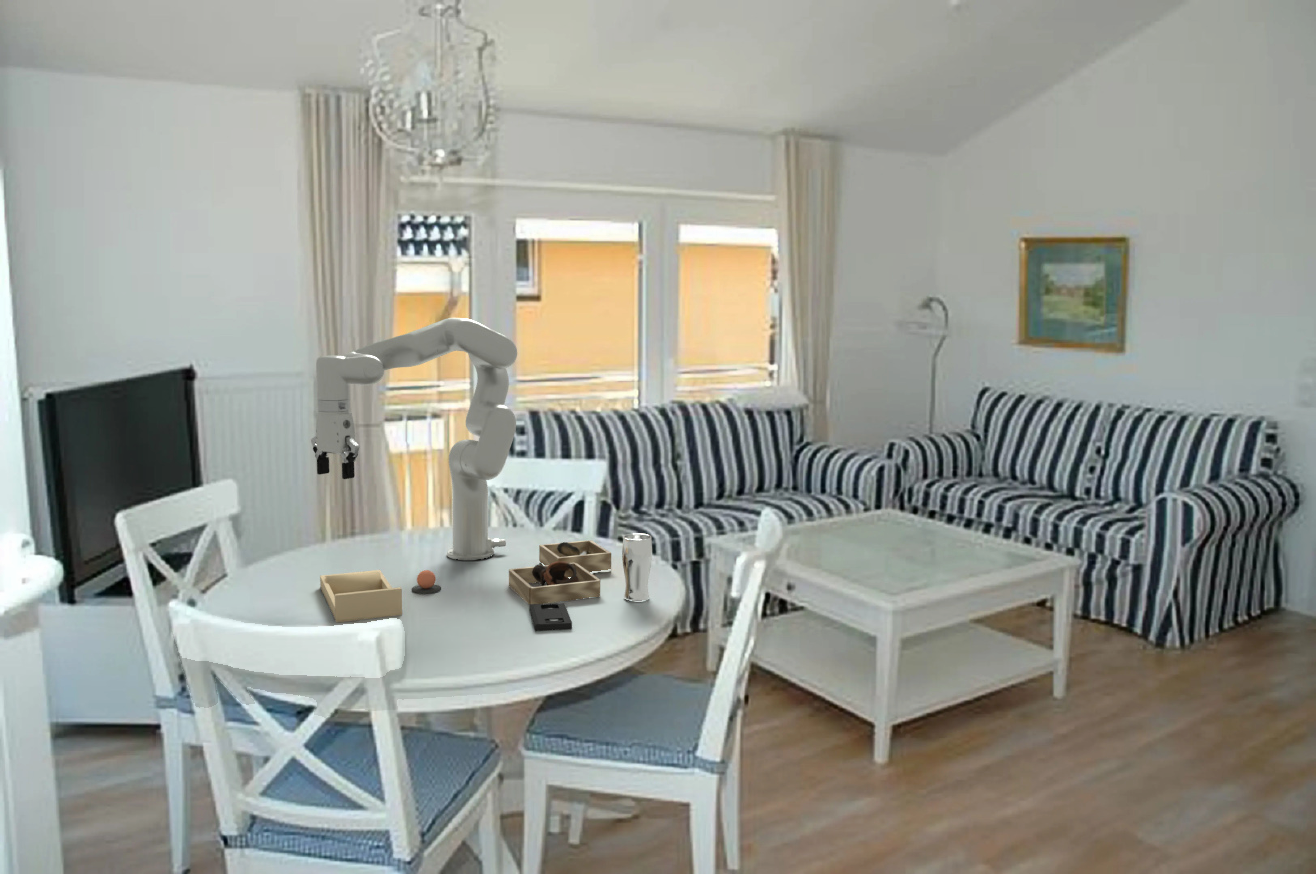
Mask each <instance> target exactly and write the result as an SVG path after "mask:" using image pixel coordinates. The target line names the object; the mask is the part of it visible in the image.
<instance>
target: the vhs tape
mask: <svg viewBox="0 0 1316 874" xmlns="http://www.w3.org/2000/svg"><path fill="white" fill-rule="evenodd" d="M528 605H529V606H528V607H529V608H528V609H529V614H530V618H531V620H532V621H531V622H532V625H533V629H534V632H550V631H552V632H553V631H565V630H566V631H568V630H573V627H572V626H573V621H572V619H571V616H570V614H569V611H568V609H567V606H566V604H565V602H555V603H547V604H528Z"/></svg>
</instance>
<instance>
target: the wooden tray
mask: <svg viewBox="0 0 1316 874" xmlns="http://www.w3.org/2000/svg"><path fill="white" fill-rule="evenodd" d="M560 543H561V542H559V543H546V544H539V549H538V551H539V552H538V553H539V554H538V555H539V556H538V557H539V559H538V560H539V561H540V562H541V563H543V564H544V565H550V564H551V563H553V562H557V561H559V562H560V561H563V562H567V563H577V564H579V565H580V566H581V567H583V568H584V569H586V570H587V571H589V572H592V571H601V570H608V569H611V570H612V552H611V551H609V550H608V549H606V548H604V547H602V546H601V545H599V544H598V543H596V542H595V541H593V540H590V539H589V540H579V541H578V540H577V541H568V544H570V545H572V546H573V547H577V548H578V549H579V550H580V554H581V553H582V552H583V551H585V552H587V551H589V550H590V549H591V553H590V554H587V555H577V556H565V555H563V554H561V553H559V551H558V549H557V547H558V545H559V544H560Z"/></svg>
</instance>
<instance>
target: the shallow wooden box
mask: <svg viewBox="0 0 1316 874" xmlns="http://www.w3.org/2000/svg"><path fill="white" fill-rule="evenodd" d="M570 564H571V565H573V566H574V567H575V569H576V572H577V577H578V579H579V582H575V583H566V584H557V585H548V586H547V585H544V586H541V585H539V586H532V585H531V584H529V583H532V584H536V583H535V582H538V581H537V580H536V579H535V578H534V576H533V574H532V570H533V568H534V566H527V567H517V568H516V567H515V568H510V569H508V587H509V586H510V588H511V589H512V590H513V591H514V592H515V594H517V595H518V596H519V597H520V598H521V599H522V600H523V601H524V602H526V603H527V604H528V605H529V604H555V603H561V602H560V601H564V602H570V601H571V600H572V601H577V600H576V599H581V600H584V599H583V598H589V597H598V598H600V597H601V579H600V578H598V577H597V576H596V575H594V574H591V573H590V572H589V571H587V570H586V569H584V568H583V567H581V566H580V565H579V564H577V563H570ZM545 567H548V565H545ZM564 576H566V577H567V578H568V577H572V576H573V571H572V570H571V569H569V570H567V571H566V572H565V574H564ZM599 596H600V597H599ZM589 599H590V598H589ZM572 601H571V602H572ZM554 602H555V603H554Z"/></svg>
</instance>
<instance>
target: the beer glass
mask: <svg viewBox="0 0 1316 874" xmlns="http://www.w3.org/2000/svg"><path fill="white" fill-rule="evenodd" d="M622 539H623V541H622V551H621V552H622V554H621V555H622V556H621V557H622V558H621V559H622V567H623V574H624V580H625V588H624V593H623V599H624V598H626V599H628V600H632V601H642V600H647V599H648V598H649V599H650V594H649V586H648V585H649V578H650V577H649V576H650V571H651V567H652V561H653V560H652V559H653V544H652V543H653V541H652V535H650V534H648V533H647V534H646V533H638V532H637V533H628V534H625V535H623V537H622Z"/></svg>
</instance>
